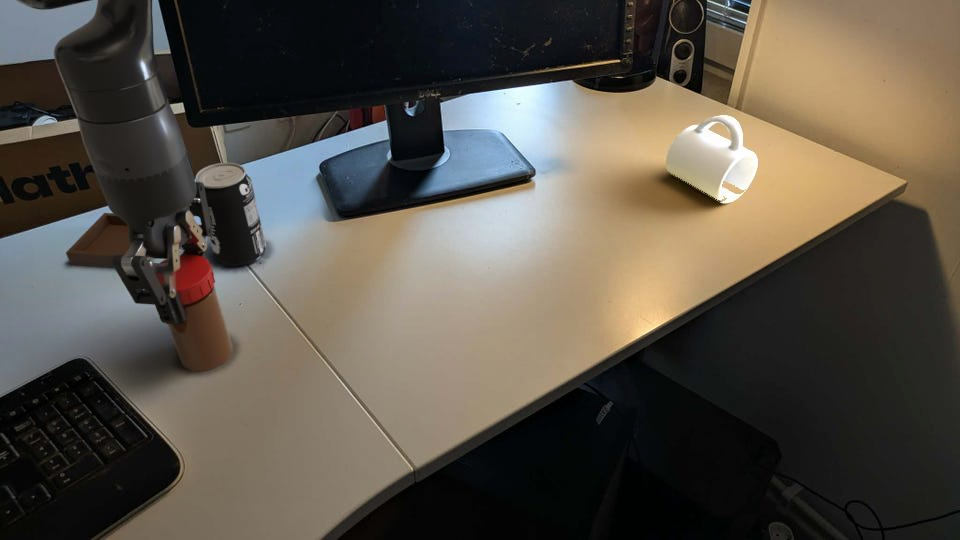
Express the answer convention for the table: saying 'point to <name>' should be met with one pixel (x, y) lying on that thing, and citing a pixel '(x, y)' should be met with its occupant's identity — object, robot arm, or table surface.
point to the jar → (202, 335)
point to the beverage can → (232, 214)
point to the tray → (101, 243)
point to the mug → (712, 158)
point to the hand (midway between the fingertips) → (189, 300)
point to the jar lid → (192, 278)
